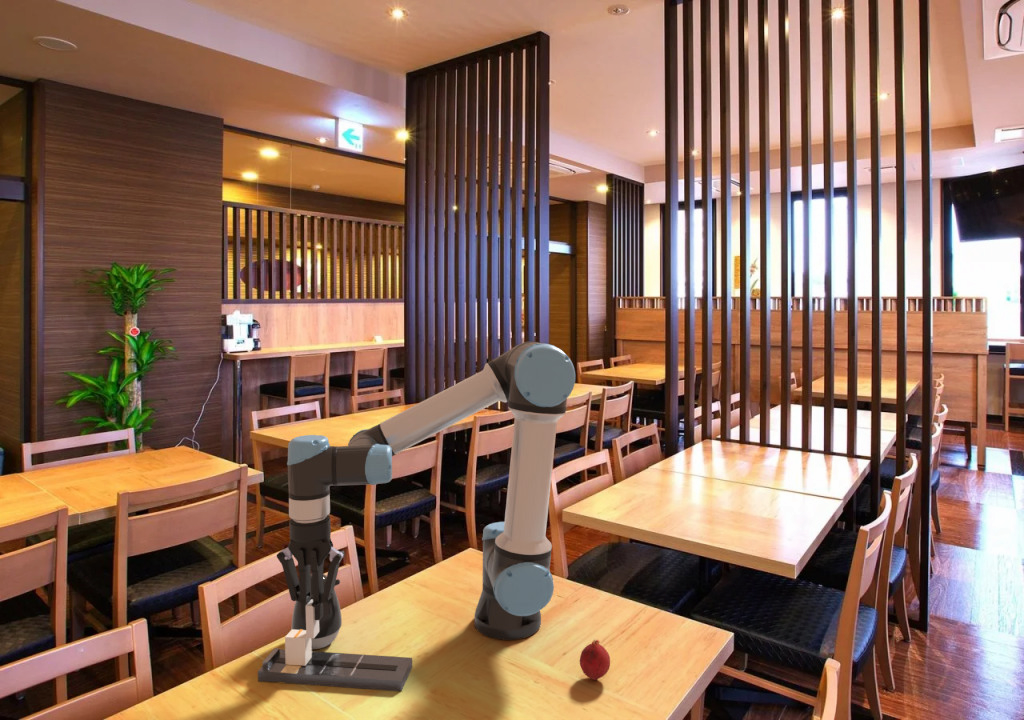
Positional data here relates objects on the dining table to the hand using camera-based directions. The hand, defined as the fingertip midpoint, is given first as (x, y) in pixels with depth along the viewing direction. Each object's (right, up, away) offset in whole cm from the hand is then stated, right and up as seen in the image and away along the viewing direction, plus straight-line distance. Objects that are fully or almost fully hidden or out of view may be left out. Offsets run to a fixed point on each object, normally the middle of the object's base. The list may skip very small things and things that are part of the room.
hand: (312, 634), depth 124 cm
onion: (+55, -9, -1) cm, 55 cm away
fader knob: (-3, -5, +1) cm, 6 cm away
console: (+5, -8, 0) cm, 9 cm away
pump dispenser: (-3, -7, +12) cm, 14 cm away
